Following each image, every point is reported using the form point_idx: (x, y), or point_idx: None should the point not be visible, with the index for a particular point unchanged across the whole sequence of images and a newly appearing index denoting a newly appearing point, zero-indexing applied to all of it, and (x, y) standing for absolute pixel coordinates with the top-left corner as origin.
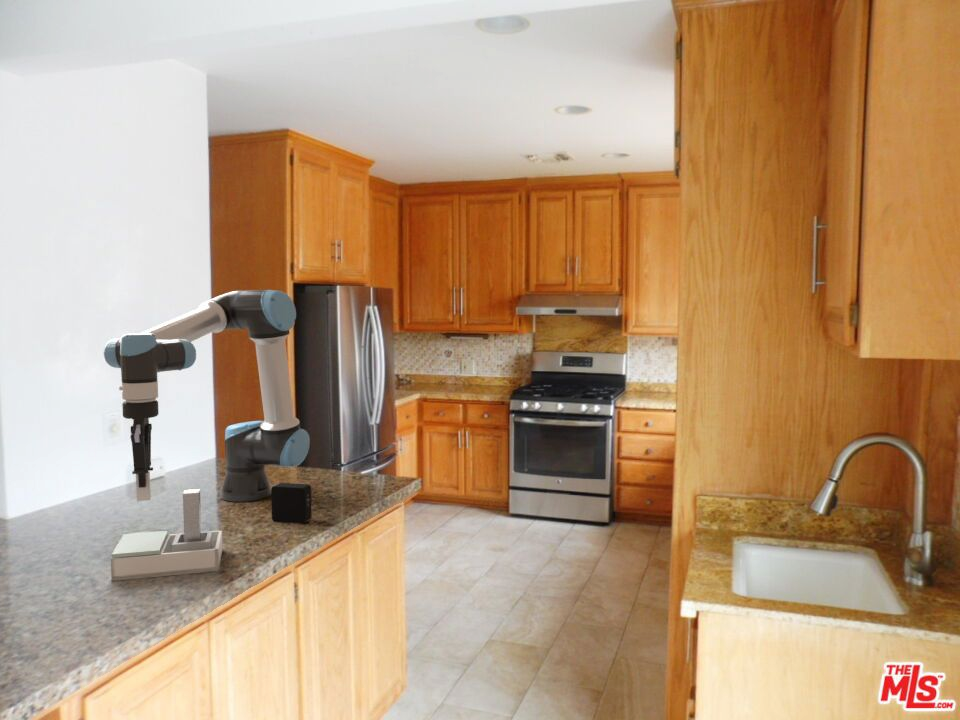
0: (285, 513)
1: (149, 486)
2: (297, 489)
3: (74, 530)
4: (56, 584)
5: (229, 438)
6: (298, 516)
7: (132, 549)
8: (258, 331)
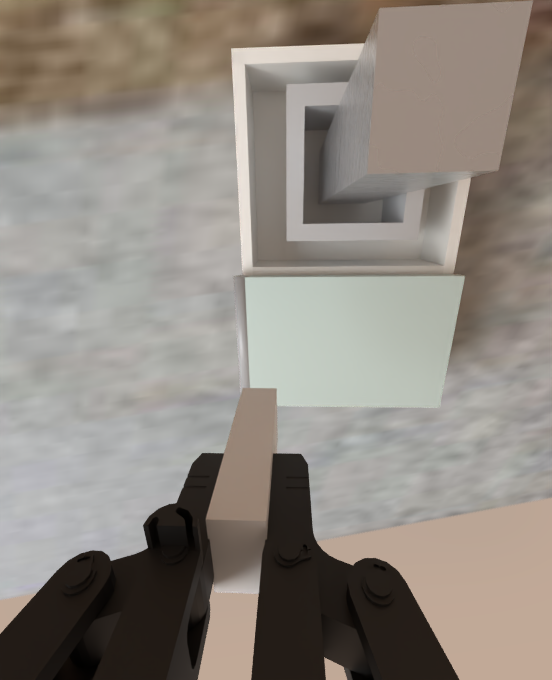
0: None
1: (258, 433)
2: None
3: (33, 500)
4: (380, 468)
5: None
6: None
7: (417, 359)
8: None
